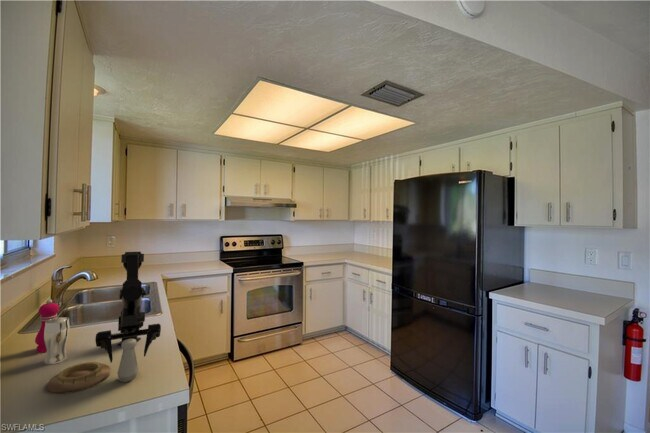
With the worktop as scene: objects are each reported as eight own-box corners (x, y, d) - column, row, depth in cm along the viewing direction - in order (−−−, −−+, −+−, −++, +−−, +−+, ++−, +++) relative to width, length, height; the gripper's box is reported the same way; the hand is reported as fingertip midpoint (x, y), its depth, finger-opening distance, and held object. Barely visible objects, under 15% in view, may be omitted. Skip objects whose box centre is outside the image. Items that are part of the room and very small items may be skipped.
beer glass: (48, 357, 110) (50, 317, 110) (71, 355, 113) (73, 316, 113) (38, 366, 104) (40, 324, 104) (62, 363, 106) (64, 322, 106)
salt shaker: (134, 372, 102) (136, 335, 102) (140, 378, 98) (142, 339, 98) (114, 379, 97) (116, 340, 97) (120, 385, 94) (121, 345, 94)
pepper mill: (64, 345, 120) (66, 297, 121) (48, 353, 113) (50, 302, 113) (46, 345, 120) (48, 296, 120) (29, 353, 113) (31, 301, 113)
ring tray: (71, 367, 103) (71, 359, 103) (119, 366, 106) (120, 357, 106) (32, 394, 88) (33, 384, 88) (91, 392, 90) (91, 382, 90)
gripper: (97, 308, 97) (90, 354, 87) (161, 301, 107) (162, 342, 97) (99, 324, 103) (93, 369, 94) (159, 316, 113) (159, 356, 104)
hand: (128, 359), depth 97 cm, fingers open, 9 cm apart
